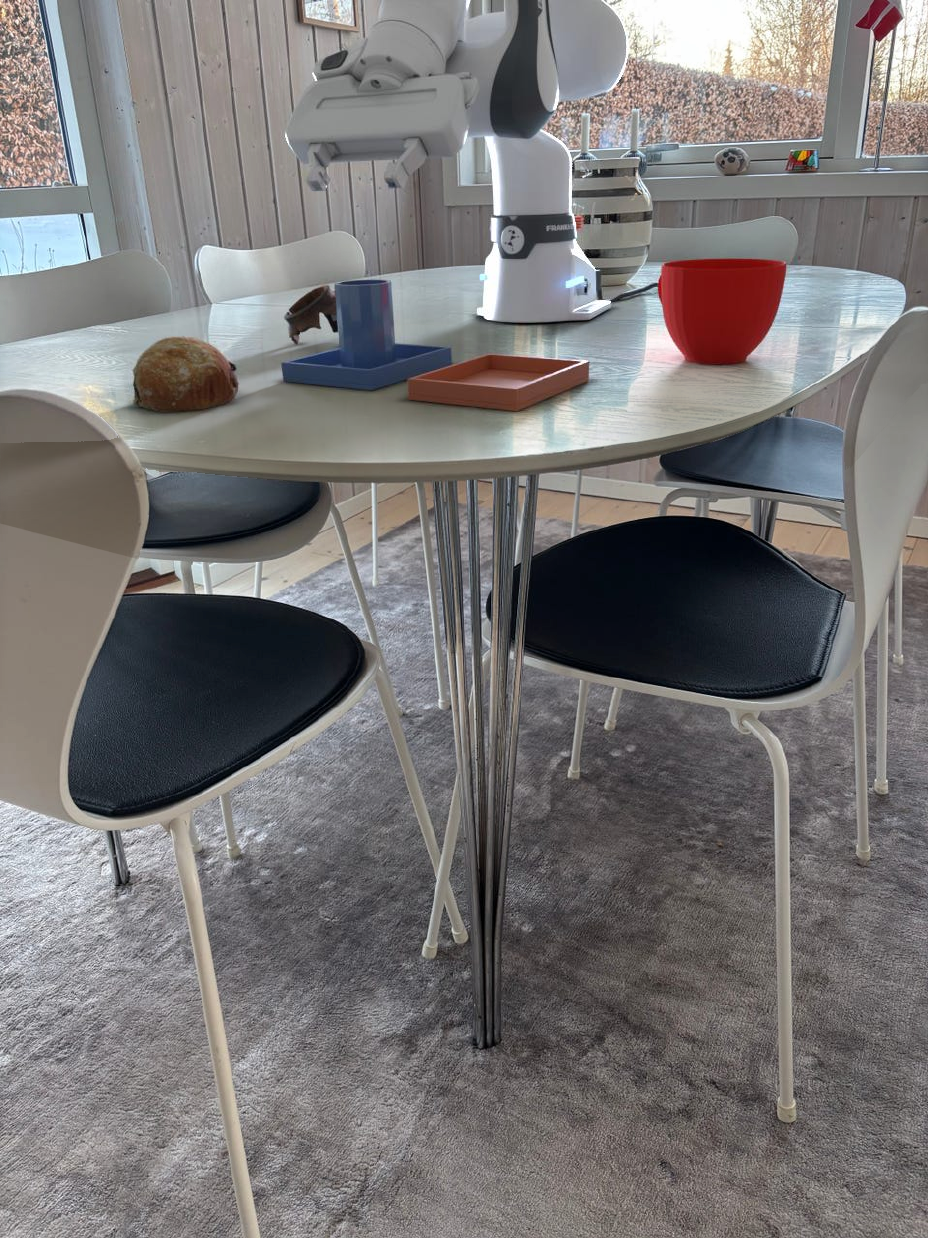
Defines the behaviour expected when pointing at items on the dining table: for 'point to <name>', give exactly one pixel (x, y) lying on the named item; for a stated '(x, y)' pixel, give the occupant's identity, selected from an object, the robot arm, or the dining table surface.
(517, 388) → the terracotta tray
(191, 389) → the bread roll
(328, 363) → the blue tray
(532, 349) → the dining table surface
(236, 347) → the dining table surface
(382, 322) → the blue tumbler
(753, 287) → the ceramic cup
